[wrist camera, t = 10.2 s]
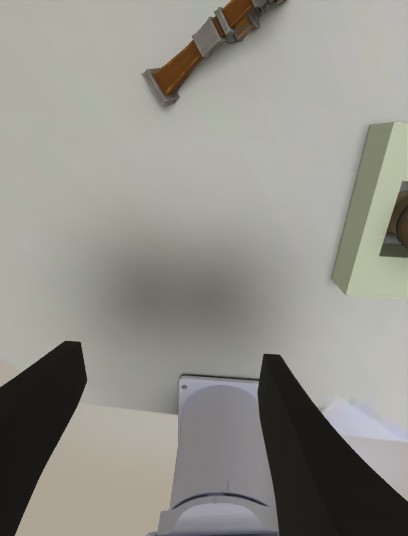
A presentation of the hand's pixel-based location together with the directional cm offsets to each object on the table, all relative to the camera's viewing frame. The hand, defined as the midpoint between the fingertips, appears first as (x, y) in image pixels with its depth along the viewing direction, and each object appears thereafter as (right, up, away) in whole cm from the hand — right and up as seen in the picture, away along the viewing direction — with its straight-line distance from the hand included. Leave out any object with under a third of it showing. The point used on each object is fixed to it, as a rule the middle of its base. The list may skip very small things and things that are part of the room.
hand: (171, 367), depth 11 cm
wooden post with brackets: (+2, +16, +5) cm, 17 cm away
